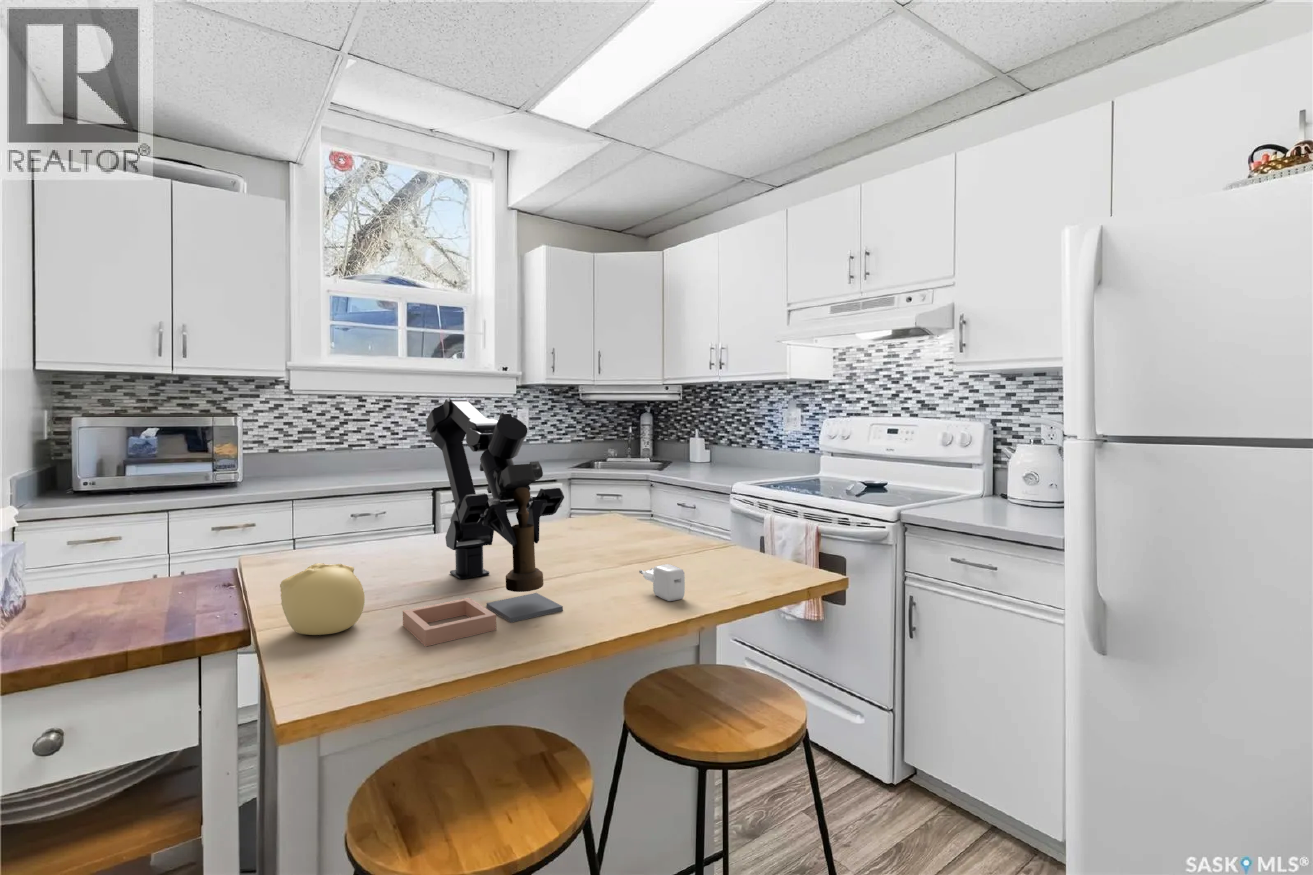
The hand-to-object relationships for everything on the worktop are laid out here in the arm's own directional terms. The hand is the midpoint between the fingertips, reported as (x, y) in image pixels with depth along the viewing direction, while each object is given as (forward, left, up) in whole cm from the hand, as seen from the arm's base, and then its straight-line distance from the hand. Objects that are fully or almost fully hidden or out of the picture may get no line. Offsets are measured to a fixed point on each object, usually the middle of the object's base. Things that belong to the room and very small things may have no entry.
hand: (526, 543), depth 112 cm
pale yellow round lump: (-12, -30, -12) cm, 35 cm away
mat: (-1, 0, -12) cm, 12 cm away
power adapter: (+7, +25, -12) cm, 29 cm away
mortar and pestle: (-1, 0, -8) cm, 8 cm away
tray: (0, -14, -12) cm, 18 cm away
